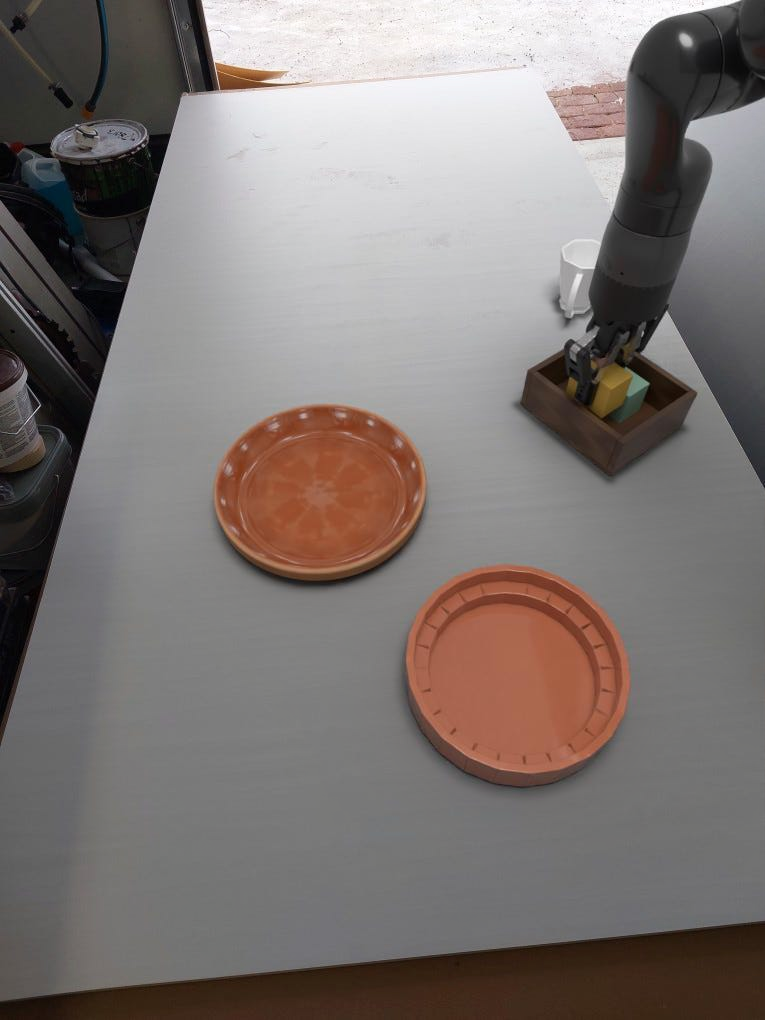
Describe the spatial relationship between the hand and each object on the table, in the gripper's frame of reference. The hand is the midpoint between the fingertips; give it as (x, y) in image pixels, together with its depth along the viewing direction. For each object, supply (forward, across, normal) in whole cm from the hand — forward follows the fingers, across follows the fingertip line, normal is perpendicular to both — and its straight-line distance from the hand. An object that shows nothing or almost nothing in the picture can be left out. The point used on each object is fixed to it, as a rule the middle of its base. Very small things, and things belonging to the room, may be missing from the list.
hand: (596, 392), depth 79 cm
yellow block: (+1, 0, 0) cm, 1 cm away
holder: (+5, +2, 0) cm, 6 cm away
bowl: (+5, -30, -18) cm, 35 cm away
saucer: (+5, -32, +10) cm, 34 cm away
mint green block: (+5, +4, 0) cm, 6 cm away
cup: (+5, +14, +16) cm, 22 cm away
